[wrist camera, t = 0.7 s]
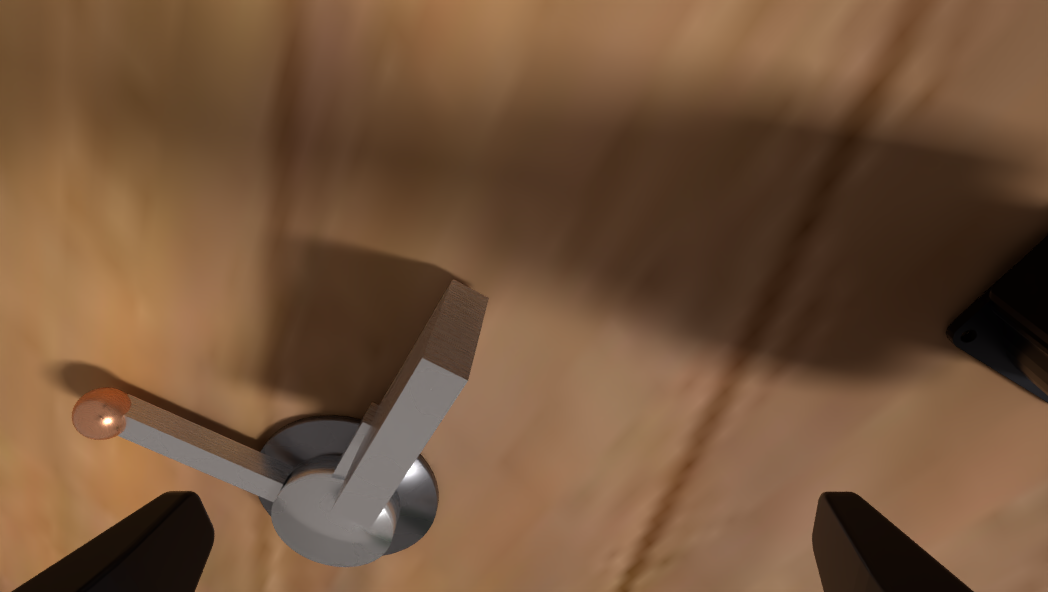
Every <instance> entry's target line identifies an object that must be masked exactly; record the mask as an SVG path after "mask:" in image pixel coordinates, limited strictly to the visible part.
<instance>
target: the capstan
mask: <svg viewBox="0 0 1048 592" xmlns="http://www.w3.org/2000/svg"><path fill="white" fill-rule="evenodd" d="M488 299H489V298H488V297H486V296H484V295H482V294H480V293H478V292H477V291H475V290H473V289H471V288H469V287H467V286H465V285H463V284H461V283H460V282H458V281H456V280H454V279H452V281H451V283H450V284H449V286H448V288H447V289H446V291H445V293H444V295H443V296H442V298H441V300H440V302H439V303H438V305H437V307H436V308H435V310H434V312H433V314H432V315H431V317H430V319H429V320H428V322H427V324H426V326H425V327H424V329H423V331H422V332H421V334H420V336H419V338H418V339H417V341H416V343H415V345H414V346H413V348H412V350H411V351H410V353H409V355H408V357H407V358H406V360H405V362H404V363H403V365H402V367H401V369H400V370H399V372H398V374H397V375H396V377H395V379H394V381H393V382H392V384H391V386H390V387H389V389H388V391H387V393H386V394H385V396H384V398H383V400H382V401H381V403H380V405H378V404H376V403H374V402H372V403H371V405H370V406H369V408H368V410H367V412H366V413H365V415H364V417H363V419H362V420H361V422H360V424H359V426H358V427H357V429H356V431H355V433H354V434H353V436H352V438H351V440H350V441H349V443H348V445H347V447H346V448H345V450H344V452H343V454H342V455H341V456H319V457H314V458H311V459H308V460H306V461H304V462H302V463H300V464H299V465H297V466H296V467H295V468H294V469H293V470H292V468H293V466H290V465H288V464H286V463H284V462H281V461H279V460H277V459H275V458H272V457H270V456H268V455H266V454H263V453H261V452H259V451H256V450H254V449H252V448H250V447H247V446H245V445H243V444H241V443H238V442H236V441H234V440H232V439H229V438H227V437H225V436H223V435H220V434H218V433H216V432H214V431H211V430H209V429H207V428H204V427H202V426H200V425H198V424H195V423H193V422H191V421H189V420H186V419H184V418H182V417H180V416H177V415H175V414H173V413H171V412H168V411H166V410H164V409H162V408H159V407H157V406H155V405H152V404H150V403H148V402H146V401H143V400H141V399H139V398H137V397H134V396H132V395H130V394H126V393H124V392H123V391H121V390H118V389H115V388H109V387H104V388H98V389H94V390H92V391H89V392H87V393H86V394H84V395H83V396H82V397H81V398H80V399H79V400H78V401H77V402H76V404H75V406H74V408H73V411H72V422H73V425H74V427H75V428H76V430H77V431H78V432H79V433H80V434H82V435H83V436H85V437H87V438H90V439H95V440H105V439H110V438H113V437H115V436H120V437H122V438H124V439H127V440H129V441H131V442H134V443H136V444H138V445H141V446H143V447H145V448H148V449H150V450H152V451H155V452H157V453H159V454H162V455H164V456H166V457H169V458H171V459H173V460H176V461H178V462H180V463H183V464H185V465H188V466H190V467H192V468H195V469H197V470H199V471H202V472H204V473H206V474H209V475H211V476H213V477H216V478H218V479H220V480H223V481H225V482H227V483H230V484H232V485H234V486H237V487H239V488H241V489H244V490H246V491H248V492H251V493H253V494H255V495H258V496H260V497H262V498H265V499H267V500H269V501H272V502H274V503H273V506H272V511H271V518H272V523H273V526H274V528H275V530H276V532H277V534H278V535H279V536H280V538H281V539H282V540H283V541H284V542H285V543H286V544H287V545H288V546H289V547H290V548H291V549H293V550H294V551H295V552H297V553H298V554H300V555H302V556H304V557H306V558H308V559H310V560H312V561H315V562H318V563H321V564H325V565H330V566H337V567H355V566H360V565H364V564H368V563H370V562H373V561H375V560H376V559H378V558H380V557H381V556H382V555H383V554H384V553H385V552H386V551H387V549H388V548H389V546H390V544H391V541H392V538H393V534H394V531H395V528H396V525H397V522H398V518H399V515H400V511H401V502H400V498H399V495H398V492H397V490H396V489H397V488H398V486H399V484H400V483H401V481H402V480H403V478H404V477H405V475H406V474H407V472H408V471H409V469H410V468H411V466H412V465H413V463H414V462H415V460H416V459H417V457H418V456H419V454H420V453H421V451H422V450H423V448H424V447H425V445H426V444H427V442H428V441H429V439H430V438H431V436H432V435H433V433H434V431H435V430H436V428H437V427H438V425H439V424H440V422H441V421H442V419H443V418H444V416H445V415H446V413H447V412H448V410H449V409H450V407H451V406H452V404H453V403H454V401H455V400H456V398H457V397H458V395H459V394H460V392H461V391H462V389H463V388H464V386H465V385H466V383H467V381H468V379H469V375H470V371H471V367H472V363H473V359H474V355H475V351H476V347H477V343H478V339H479V335H480V331H481V327H482V323H483V319H484V315H485V311H486V307H487V303H488ZM291 470H292V471H291ZM290 472H291V473H290Z"/></svg>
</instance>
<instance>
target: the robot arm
mask: <svg viewBox="0 0 1048 592" xmlns="http://www.w3.org/2000/svg"><path fill="white" fill-rule="evenodd" d="M967 330H970V331H969V332H968V333H967V334H966V335H964V336H961V335H962V333H963V332H965V331H967ZM946 335H947V338H948V339H949V340H950V341H951V342H952V343H953V344H954V345H955V346H956V347H958V348H960V349H961V350H963V351H964V352H966V353H968V354H969V355H971V356H973V357H974V358H976V359H978V360H979V361H981V362H982V363H984V364H986V365H987V366H989V367H991V368H992V369H994V370H996V371H997V372H999V373H1000V374H1002V375H1004V376H1005V377H1007V378H1009V379H1010V380H1012V381H1014V382H1015V383H1017V384H1018V385H1020V386H1022V387H1023V388H1025V389H1027V390H1028V391H1030V392H1032V393H1033V394H1035V395H1036V396H1038V397H1040V398H1041V399H1043V400H1045V401H1046V402H1048V236H1047V237H1046V238H1045V239H1044V240H1043V241H1041V242H1040V243H1039V244H1038V245H1037V246H1036V247H1035V248H1034V249H1033V250H1032V251H1030V252H1029V253H1028V254H1027V255H1026V256H1025V257H1024V258H1023V259H1022V260H1021V261H1019V262H1018V263H1017V264H1016V265H1015V266H1014V267H1013V268H1012V269H1011V270H1009V271H1008V272H1007V273H1006V274H1005V275H1004V276H1003V277H1002V278H1001V279H1000V280H998V281H997V282H996V283H995V284H994V285H993V286H992V287H991V288H990V289H989V290H987V291H986V292H985V293H984V294H983V295H982V296H981V297H980V298H979V299H978V300H976V301H975V302H974V303H973V304H972V305H971V306H970V307H969V308H968V309H966V310H965V311H964V312H963V313H962V314H961V315H960V316H959V317H958V318H957V319H955V320H954V321H953V322H952V323H951V324H950V326H949V327H948V328H947V331H946ZM213 542H214V528H213V525H212V523H211V521H210V519H209V517H208V514H207V512H206V510H205V508H204V506H203V504H202V501H201V499H200V497H199V496H198V495H197V494H196V493H195V492H192V491H170V492H166V493H164V494H162V495H160V496H159V497H157V498H156V499H154V500H152V501H151V502H149V503H148V504H146V505H145V506H143V507H142V508H140V509H139V510H137V511H135V512H134V513H132V514H131V515H129V516H128V517H126V518H125V519H123V520H121V521H120V522H118V523H117V524H115V525H114V526H112V527H111V528H109V529H108V530H106V531H104V532H103V533H101V534H100V535H98V536H97V537H95V538H94V539H92V540H91V541H89V542H87V543H86V544H84V545H83V546H81V547H80V548H78V549H77V550H75V551H74V552H72V553H70V554H69V555H67V556H66V557H64V558H63V559H61V560H60V561H58V562H56V563H55V564H53V565H52V566H50V567H49V568H47V569H46V570H44V571H43V572H41V573H39V574H38V575H36V576H35V577H33V578H32V579H30V580H29V581H27V582H26V583H24V584H22V585H21V586H19V587H18V588H16V589H15V590H13V591H12V592H195V590H196V587H197V585H198V582H199V579H200V577H201V574H202V572H203V569H204V567H205V564H206V562H207V559H208V557H209V554H210V551H211V549H212V546H213ZM812 544H813V551H814V555H815V559H816V563H817V567H818V571H819V574H820V578H821V582H822V586H823V590H824V592H974V591H972V590H971V589H970V588H969V587H968V586H966V585H965V584H964V583H963V582H962V581H960V580H959V579H958V578H957V577H956V576H954V575H953V574H952V573H951V572H950V571H949V570H947V569H946V568H945V567H944V566H943V565H941V564H940V563H939V562H938V561H937V560H935V559H934V558H933V557H932V556H931V555H929V554H928V553H927V552H926V551H925V550H923V549H922V548H921V547H920V546H919V545H918V544H916V543H915V542H914V541H913V540H912V539H910V538H909V537H908V536H907V535H906V534H904V533H903V532H902V531H901V530H900V529H898V528H897V527H896V526H895V525H894V524H893V523H891V522H890V521H889V520H888V519H887V518H885V517H884V516H883V515H882V514H881V513H879V512H878V511H877V510H876V509H875V508H873V507H872V506H871V505H870V504H869V503H867V502H866V501H865V500H864V499H863V498H862V497H860V496H859V495H857V494H855V493H853V492H824V493H822V494H821V496H820V497H819V500H818V506H817V511H816V517H815V522H814V528H813V533H812Z"/></svg>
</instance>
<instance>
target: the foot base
mask: <svg viewBox="0 0 1048 592" xmlns="http://www.w3.org/2000/svg"><path fill="white" fill-rule="evenodd" d="M360 422H361V419H356V418H351V417H344V416H316V417H309V418H305V419H301V420H298V421H295V422H293V423H290V424H288V425H287V426H285V427H283V428H281V429H280V430H279V431H277V432H276V433H275V434H274V435H273V436H272V437H271V438H270V439H269V440H268V441H267V442H266V444H265V446H264V447H263V449H262V450H261V453H263V454H266V455H268V456H270V457H272V458H275V459H277V460H279V461H281V462H284V463H286V464H288V465H290V466H293V468H292V470H293V469H294V468H295V467H296V466H297V465H299V464H300V463H302V462H304V461H306V460H308V459H311V458H314V457H319V456H341V455H342V454H343V452H344V450H345V448H346V447H347V445H348V443H349V441H350V440H351V438H352V436H353V434H354V433H355V431H356V429H357V427H358V426H359V424H360ZM292 470H291V471H292ZM290 473H291V472H290ZM396 490H397V492H398V495H399V498H400V502H401V511H400V515H399V518H398V522H397V525H396V528H395V531H394V534H393V538H392V541H391V544H390V546H389V548H388V549H387V551H386V552H385V553H384V554H383V555H388V554H392V553H395V552H399V551H401V550H403V549H406V548H408V547H410V546H411V545H413V544H415V543H416V542H417V541H418V540H420V539H421V538H422V537H423V536H424V535H425V534H426V533H427V531H428V530H429V528H430V527H431V525H432V523H433V521H434V518H435V515H436V511H437V507H438V501H439V492H438V486H437V482H436V479H435V476H434V474H433V472H432V470H431V468H430V466H429V465H428V463H427V462H426V461H425V459H424V458H423V456H422V455H421V454H419V456H418V457H417V459H416V460H415V462H414V463H413V465H412V466H411V468H410V469H409V471H408V472H407V474H406V475H405V477H404V478H403V480H402V481H401V483H400V484H399V486H398V488H397V489H396ZM258 497H259V499H260V501H261V503H262V505H263V506H264V508H265V509H266V511H267V512H268V513H269V515H270V516H271V511H272V506H273V503H274V502H272V501H269V500H267V499H265V498H262V497H260V496H258ZM383 555H382V556H383Z"/></svg>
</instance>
